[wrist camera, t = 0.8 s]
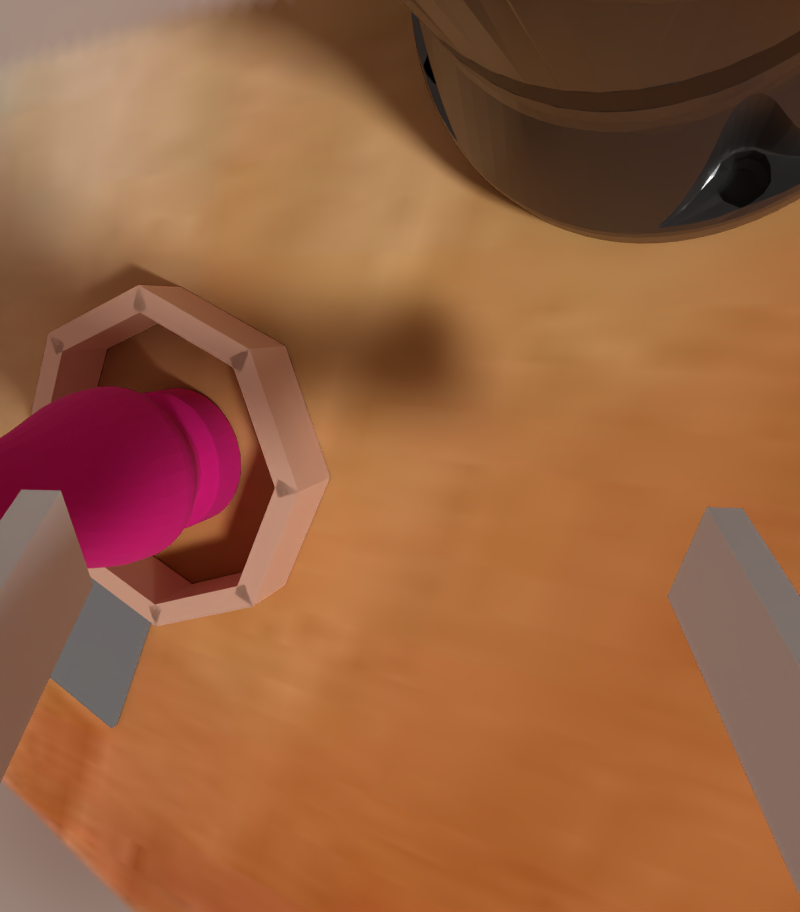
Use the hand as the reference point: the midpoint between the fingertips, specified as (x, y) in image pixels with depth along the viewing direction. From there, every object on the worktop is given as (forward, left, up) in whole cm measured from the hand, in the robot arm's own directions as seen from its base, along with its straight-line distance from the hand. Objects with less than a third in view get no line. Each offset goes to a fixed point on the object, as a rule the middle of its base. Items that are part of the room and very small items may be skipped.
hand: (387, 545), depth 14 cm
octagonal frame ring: (+8, -13, -12) cm, 19 cm away
